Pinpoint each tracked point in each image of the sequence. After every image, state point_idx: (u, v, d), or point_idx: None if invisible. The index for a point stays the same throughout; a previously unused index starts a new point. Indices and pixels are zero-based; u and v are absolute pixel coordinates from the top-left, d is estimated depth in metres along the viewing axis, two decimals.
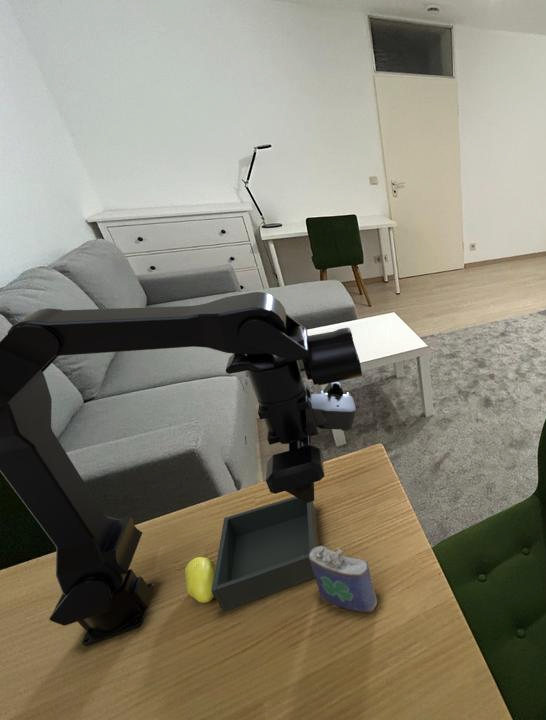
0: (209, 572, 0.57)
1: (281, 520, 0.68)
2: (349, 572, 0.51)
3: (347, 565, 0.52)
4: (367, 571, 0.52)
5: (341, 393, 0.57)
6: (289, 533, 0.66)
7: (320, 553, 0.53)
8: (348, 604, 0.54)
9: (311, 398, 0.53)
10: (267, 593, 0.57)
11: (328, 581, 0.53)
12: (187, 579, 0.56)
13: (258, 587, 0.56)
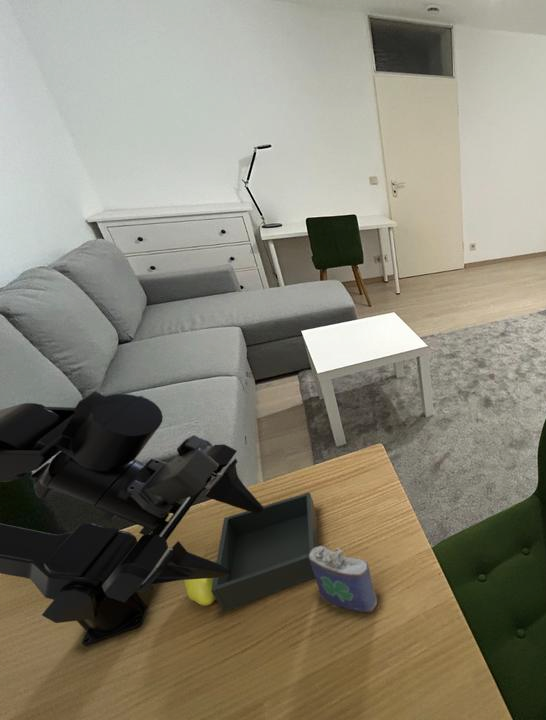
0: None
1: (281, 520, 0.68)
2: (349, 572, 0.51)
3: (347, 565, 0.52)
4: (367, 571, 0.52)
5: (191, 449, 0.46)
6: (289, 533, 0.66)
7: (320, 553, 0.53)
8: (348, 604, 0.54)
9: (155, 473, 0.45)
10: (267, 593, 0.57)
11: (328, 581, 0.53)
12: (186, 583, 0.56)
13: (258, 587, 0.56)
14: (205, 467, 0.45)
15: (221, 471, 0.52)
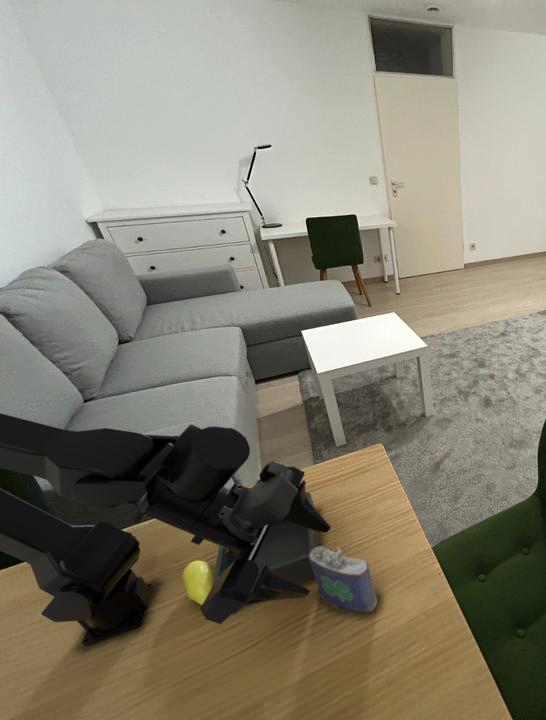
0: (209, 574, 0.57)
1: (281, 520, 0.68)
2: (349, 572, 0.51)
3: (347, 565, 0.52)
4: (367, 571, 0.52)
5: (273, 475, 0.48)
6: (289, 533, 0.66)
7: (320, 553, 0.53)
8: (348, 604, 0.54)
9: (240, 498, 0.47)
10: None
11: (328, 581, 0.53)
12: (186, 583, 0.56)
13: None
14: (288, 493, 0.47)
15: None
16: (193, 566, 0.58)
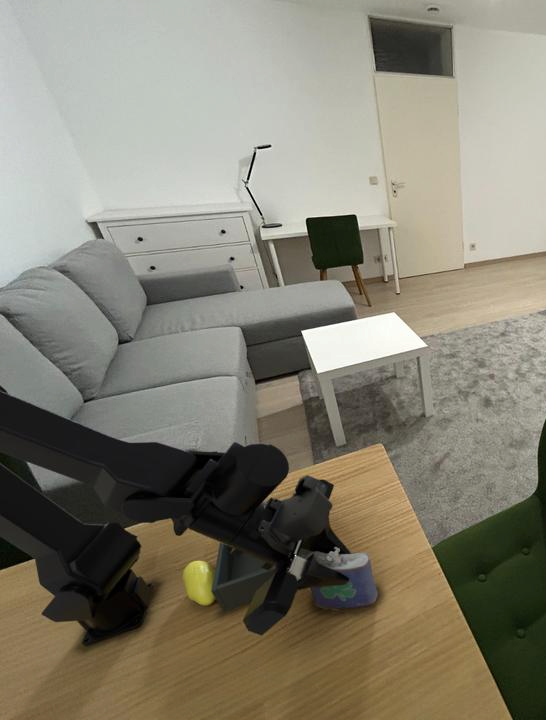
0: (209, 574, 0.57)
1: None
2: (353, 566, 0.52)
3: (347, 561, 0.53)
4: (369, 561, 0.53)
5: (308, 489, 0.49)
6: None
7: None
8: (350, 601, 0.55)
9: (277, 512, 0.48)
10: None
11: None
12: (186, 583, 0.56)
13: (258, 587, 0.56)
14: (324, 507, 0.48)
15: None
16: (193, 566, 0.58)
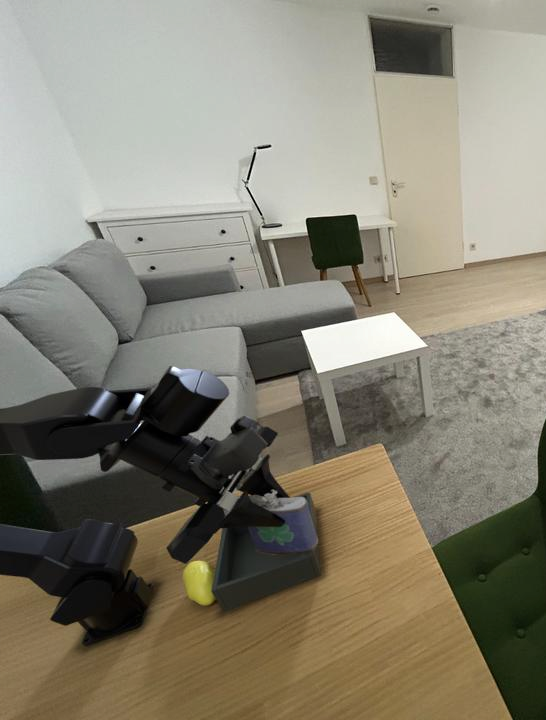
0: (209, 574, 0.57)
1: None
2: (288, 508, 0.52)
3: (284, 504, 0.53)
4: (306, 505, 0.54)
5: (243, 428, 0.50)
6: None
7: (253, 500, 0.53)
8: (289, 546, 0.55)
9: (210, 449, 0.49)
10: (267, 593, 0.57)
11: None
12: (186, 583, 0.56)
13: (258, 587, 0.56)
14: (257, 444, 0.49)
15: (255, 466, 0.54)
16: (193, 566, 0.58)
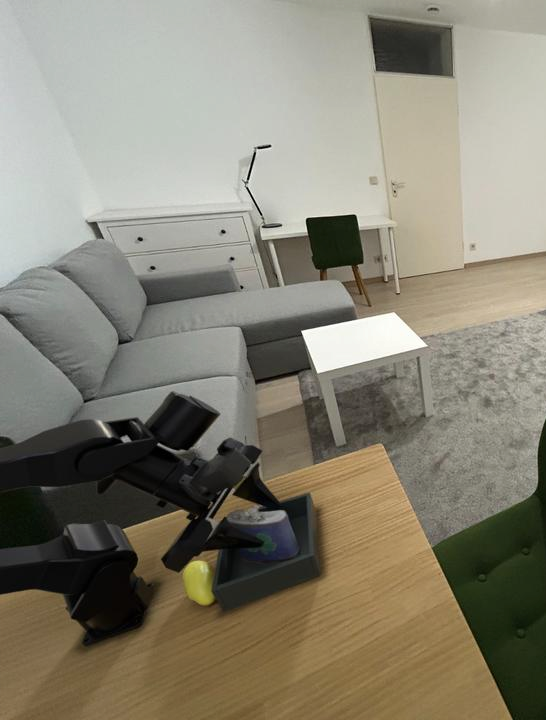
0: (209, 574, 0.57)
1: None
2: (270, 521, 0.58)
3: (266, 518, 0.59)
4: (286, 518, 0.59)
5: (229, 449, 0.55)
6: None
7: (237, 515, 0.59)
8: (272, 555, 0.61)
9: (199, 469, 0.54)
10: (267, 593, 0.57)
11: None
12: (186, 583, 0.56)
13: (258, 587, 0.56)
14: (241, 464, 0.54)
15: (246, 473, 0.61)
16: (193, 566, 0.58)
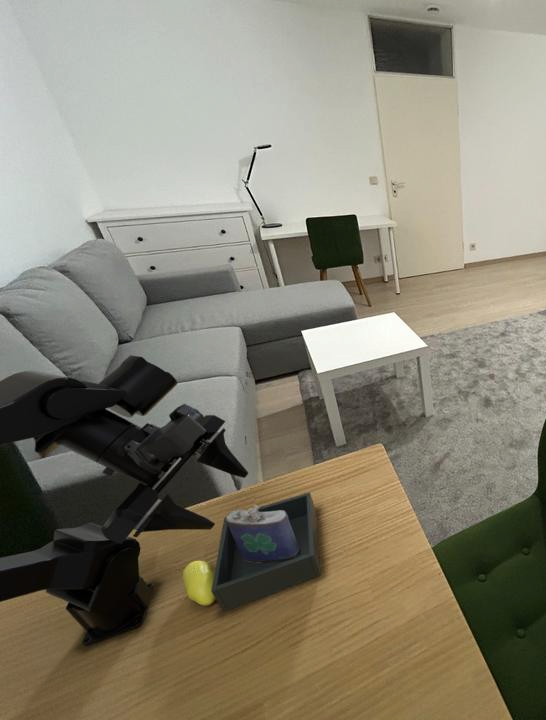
0: (209, 574, 0.57)
1: None
2: (270, 521, 0.58)
3: (266, 518, 0.59)
4: (286, 518, 0.59)
5: (181, 415, 0.52)
6: None
7: (237, 515, 0.59)
8: (272, 555, 0.61)
9: (149, 436, 0.51)
10: (267, 593, 0.57)
11: (249, 537, 0.59)
12: (186, 583, 0.56)
13: (258, 587, 0.56)
14: (193, 431, 0.51)
15: (210, 438, 0.58)
16: (193, 566, 0.58)
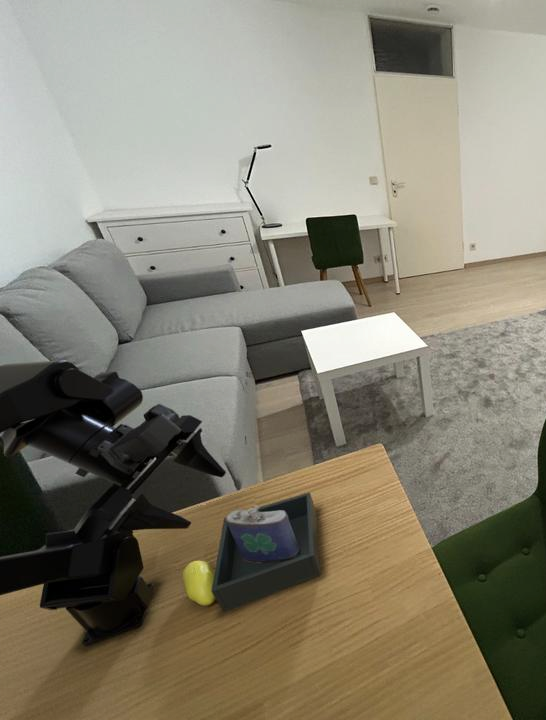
0: (209, 574, 0.57)
1: None
2: (270, 521, 0.58)
3: (266, 518, 0.59)
4: (286, 518, 0.59)
5: (156, 415, 0.52)
6: None
7: (237, 515, 0.59)
8: (272, 555, 0.61)
9: (123, 436, 0.51)
10: (267, 593, 0.57)
11: (249, 537, 0.59)
12: (186, 583, 0.56)
13: (258, 587, 0.56)
14: (167, 430, 0.51)
15: (187, 438, 0.58)
16: (193, 566, 0.58)
